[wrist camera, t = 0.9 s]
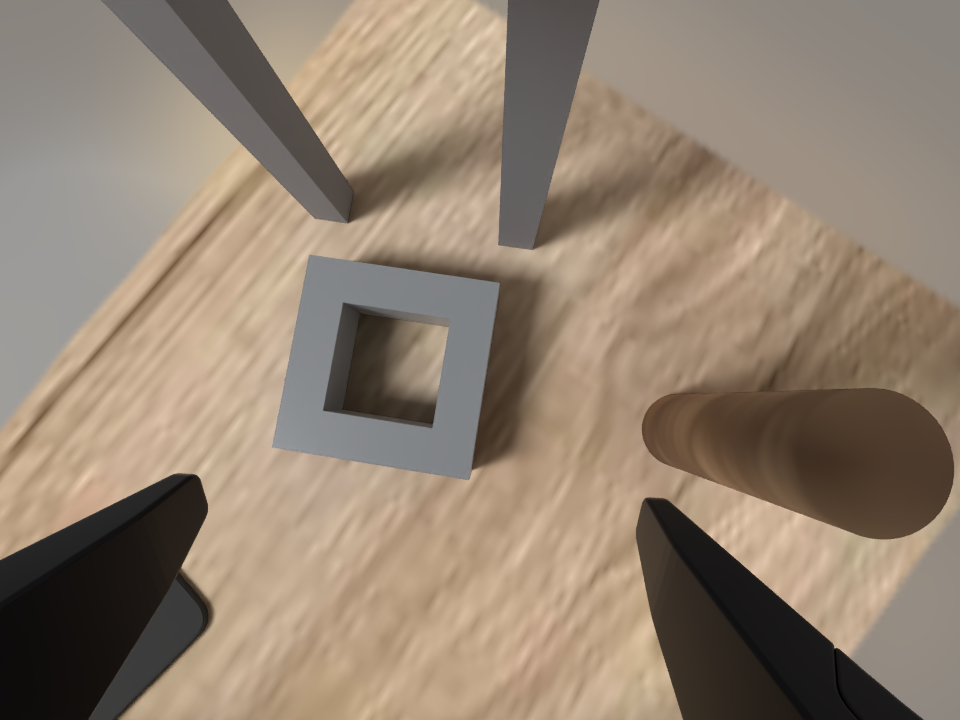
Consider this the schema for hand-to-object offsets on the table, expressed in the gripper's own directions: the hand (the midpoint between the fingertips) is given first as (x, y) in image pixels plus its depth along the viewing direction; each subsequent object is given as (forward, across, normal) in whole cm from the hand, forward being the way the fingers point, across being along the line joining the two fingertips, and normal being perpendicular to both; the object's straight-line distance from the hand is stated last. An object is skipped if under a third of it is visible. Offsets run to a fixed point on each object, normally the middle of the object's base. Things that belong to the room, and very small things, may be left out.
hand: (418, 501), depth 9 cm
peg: (+14, -12, +8) cm, 20 cm away
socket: (+16, +4, +5) cm, 17 cm away
